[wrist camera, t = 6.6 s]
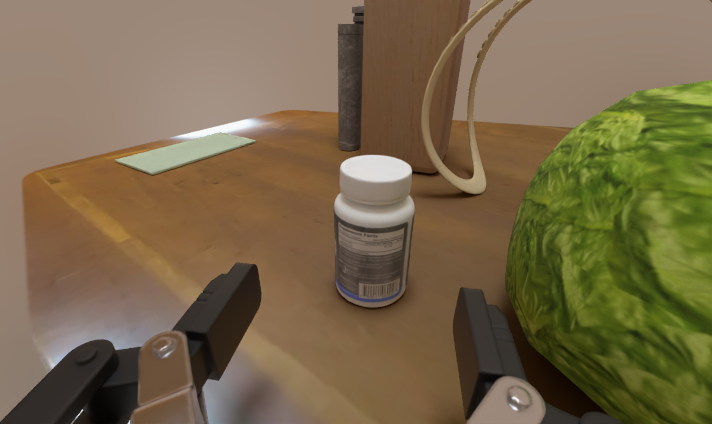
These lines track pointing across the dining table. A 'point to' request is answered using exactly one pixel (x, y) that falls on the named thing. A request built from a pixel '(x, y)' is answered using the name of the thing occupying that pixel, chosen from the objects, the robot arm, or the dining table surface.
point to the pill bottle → (373, 229)
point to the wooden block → (409, 77)
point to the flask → (350, 80)
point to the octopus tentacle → (478, 179)
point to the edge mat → (183, 153)
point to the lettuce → (624, 257)
